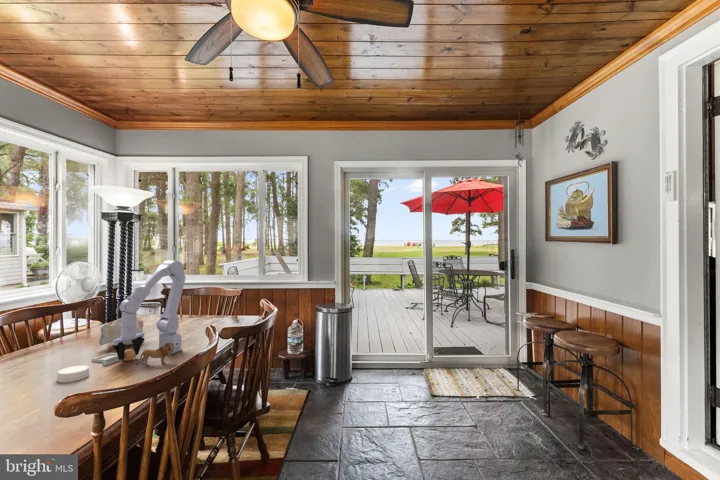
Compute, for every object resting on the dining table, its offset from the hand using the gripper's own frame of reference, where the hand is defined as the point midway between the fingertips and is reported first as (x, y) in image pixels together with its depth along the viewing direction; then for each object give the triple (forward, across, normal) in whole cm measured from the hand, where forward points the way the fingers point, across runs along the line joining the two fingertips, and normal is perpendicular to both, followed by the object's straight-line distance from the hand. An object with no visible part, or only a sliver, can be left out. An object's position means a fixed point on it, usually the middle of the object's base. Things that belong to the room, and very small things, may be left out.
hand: (128, 356), depth 162 cm
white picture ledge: (+2, 0, -4) cm, 5 cm away
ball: (+2, 0, 0) cm, 2 cm away
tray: (+2, +1, -10) cm, 10 cm away
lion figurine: (+2, 0, +15) cm, 16 cm away
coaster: (+2, +22, -3) cm, 22 cm away
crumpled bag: (+2, -19, -25) cm, 31 cm away
